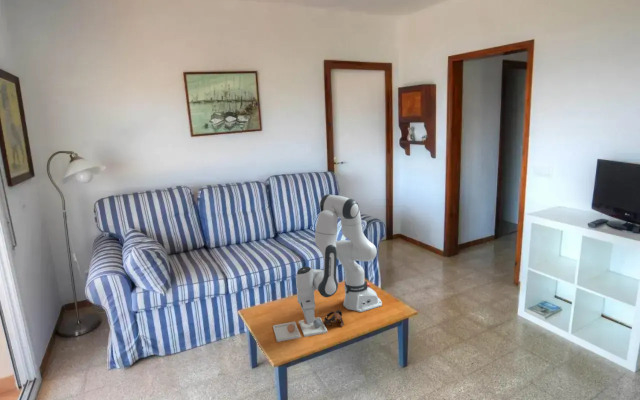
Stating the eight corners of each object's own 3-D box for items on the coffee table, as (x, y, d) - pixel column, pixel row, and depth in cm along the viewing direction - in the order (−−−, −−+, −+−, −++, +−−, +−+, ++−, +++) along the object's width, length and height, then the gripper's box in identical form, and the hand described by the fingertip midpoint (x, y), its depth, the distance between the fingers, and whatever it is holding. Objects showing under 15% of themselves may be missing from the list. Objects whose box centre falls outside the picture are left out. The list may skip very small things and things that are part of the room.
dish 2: (320, 320, 211) (320, 317, 211) (327, 333, 198) (327, 330, 198) (298, 323, 208) (298, 320, 208) (304, 337, 195) (304, 334, 195)
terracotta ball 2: (310, 321, 205) (310, 314, 205) (312, 325, 202) (311, 318, 201) (303, 322, 205) (302, 315, 204) (304, 326, 201) (304, 319, 200)
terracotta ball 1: (294, 328, 203) (293, 321, 202) (295, 332, 199) (295, 325, 198) (286, 330, 202) (286, 323, 201) (288, 334, 198) (287, 327, 197)
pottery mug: (341, 332, 200) (332, 320, 198) (328, 334, 205) (319, 323, 204) (349, 315, 209) (341, 304, 208) (336, 318, 215) (328, 307, 213)
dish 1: (295, 324, 208) (295, 321, 207) (300, 338, 195) (300, 335, 194) (273, 328, 205) (272, 325, 205) (277, 343, 192) (276, 339, 191)
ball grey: (320, 324, 206) (319, 317, 205) (322, 328, 202) (321, 321, 201) (312, 325, 205) (312, 318, 204) (314, 329, 201) (314, 322, 200)
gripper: (296, 289, 209) (298, 312, 212) (303, 308, 189) (305, 333, 193) (307, 288, 210) (309, 311, 213) (316, 306, 191) (317, 331, 194)
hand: (307, 321), depth 203 cm, fingers closed on terracotta ball 2, 4 cm apart
